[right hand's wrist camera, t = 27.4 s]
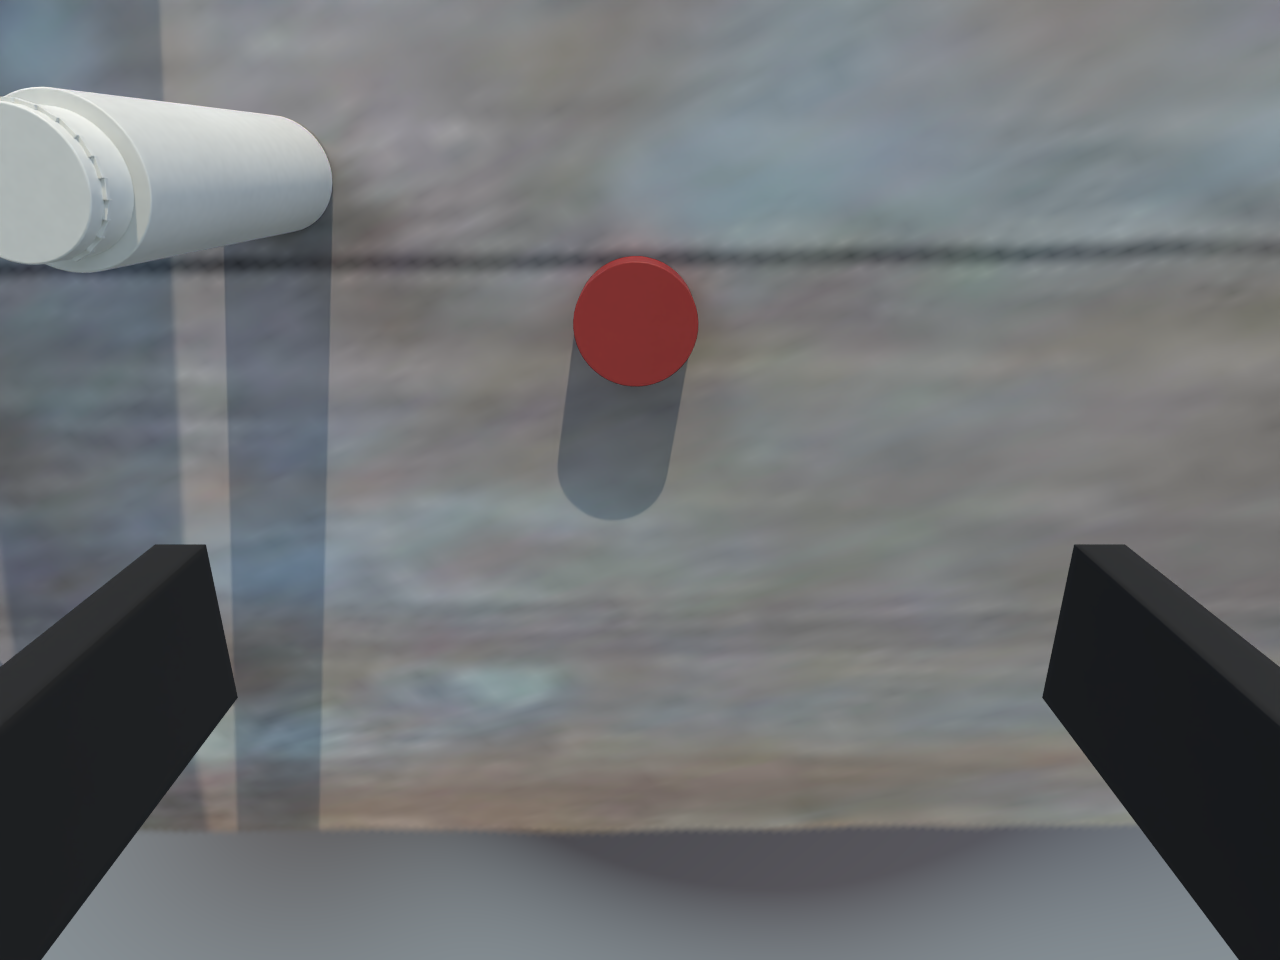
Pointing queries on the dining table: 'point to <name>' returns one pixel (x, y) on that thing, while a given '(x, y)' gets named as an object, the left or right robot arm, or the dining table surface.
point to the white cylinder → (147, 178)
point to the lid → (635, 321)
